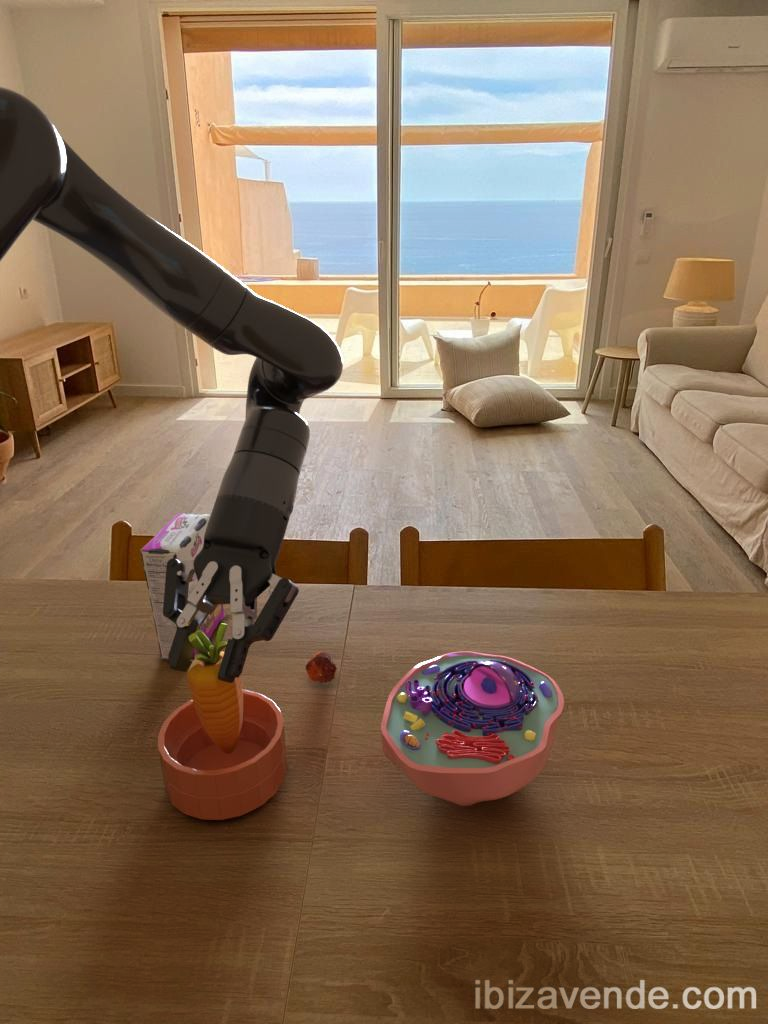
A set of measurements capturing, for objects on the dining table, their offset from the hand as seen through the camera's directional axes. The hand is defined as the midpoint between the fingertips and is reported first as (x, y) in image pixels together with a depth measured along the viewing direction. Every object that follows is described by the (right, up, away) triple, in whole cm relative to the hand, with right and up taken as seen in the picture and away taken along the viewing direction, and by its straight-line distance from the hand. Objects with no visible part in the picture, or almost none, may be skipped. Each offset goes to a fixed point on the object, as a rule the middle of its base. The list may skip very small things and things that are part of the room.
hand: (201, 674), depth 64 cm
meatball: (+9, -6, +22) cm, 25 cm away
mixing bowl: (+1, -12, +7) cm, 14 cm away
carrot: (+1, -10, +6) cm, 11 cm away
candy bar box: (-9, -2, +31) cm, 32 cm away
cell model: (+26, -12, +8) cm, 30 cm away
